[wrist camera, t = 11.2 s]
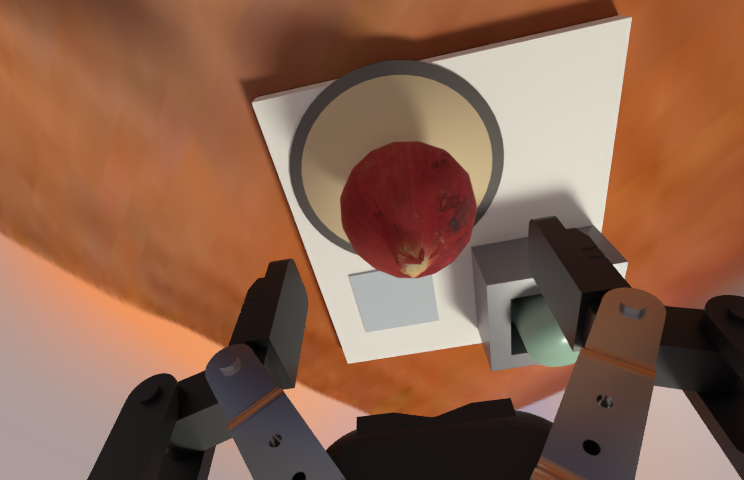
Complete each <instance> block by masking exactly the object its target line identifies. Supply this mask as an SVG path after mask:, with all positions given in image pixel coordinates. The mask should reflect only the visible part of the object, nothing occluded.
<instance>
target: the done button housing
mask: <svg viewBox="0 0 744 480" xmlns="http://www.w3.org/2000/svg"><path fill="white" fill-rule="evenodd" d="M576 229H578V230H580V231H581V232H583V233H585V234H587V235H588V236H590V238H591V239H592V240H593V241H594V243H595V244H596V245H597V246H598V249H600V250H601V251H602V252H603V253H604V255H605V257H607V258H608V260H609V261H610V262H611V263H612V264H613V266H614V267H615V268H616V269H617V270H618V272H619V273H620V274H621V275H622V276H623V278H624V279H625V275H626V270H627V265H628V261H627V260H626V259H625V258H624V257H623V256H622V255H621V254H620V253H619V252H618V251H617V249H616V248H615V247H614V246H613V245H612V244H611V243H610V242H609V241H608V240H607V239H606V238H605V237H604V236H603V234H602V233H601V232H600V231H599V230H598V229H597V228H596V227H595V226H594V225H591V226H585V227H580V228H576ZM527 253H528V237H524V238H518V239H513V240H507V241H501V242H496V243H490V244H485V245H479V246H474V247H471V254H472V266H473V278H474V291H475V303H476V315H477V328H478V331H479V334H480V338H481V341H482V344H483V347H484V350H485V353H486V356H487V359H488V362H489V365H490V368H491V371H496V370H503V369H510V368H516V367H523V366H530V365H536V364H538V363H536V362H535V361H533V360H532V359H531V358H530V356H529V354H528V352H527V350H526V347H525V345H524V343H523V341H522V338H521V336H520V334H519V332H518V329H517V327H516V325H515V323H514V320H513V318H512V315H511V306H512V304H513V301H514V300H515V298H519V297H525V296H531V295H537V294H542V293H541V292H540V290H539V288H538V286H537V284H536V282H535V280H534V279H533V277H532V275H531V272H530V269H529V266H528V259H527Z"/></svg>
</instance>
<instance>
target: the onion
mask: <svg viewBox="0 0 744 480" xmlns="http://www.w3.org/2000/svg"><path fill="white" fill-rule="evenodd" d="M340 207H341V222H342V226H343V230H344V232H345V234H346V236H347V237H348V239H349V241H350V243H351V245H352V247H353V249H354V250H355V252H356V253H357V255H359V256H360V257H361V258H362V259H363V260H365V261H366V262H367V263H368V264H369V265H371V266H372V267H373V268H375V269H376V270H379V271H381V272H384V273H386V274H389V275H392V276H394V277H397V278H421V277H424V276H428V275H432V274H435V273H437V272H438V271H440V270H442V269H443V268H445V267H446V266H448V265H449V264H451V263H453V262H454V261H455V260H456V258H457V257H458V256H459V254H460V253H461V252H462V251H463V249H464V248H465V247H466V246H467V244H468V243H469V241H470V239H471V234H472V229H473V225H474V221H475V216H476V212H477V205H476V199H475V195H474V192H473V188H472V184H471V180H470V176H469V174H468V173H467V172H466V170H465V169H464V168H463V167H462V166H461V165H460V164H459V163H458V162H457V161H456V160H455V159H454V158H453V157H452V156H451V155H450V153H448V152H447V151H445V150H444V149H441V148H438V147H435V146H432V145H429V144H426V143H423V142H420V141H413V142H392V143H390V144H387V145H385V146H382V147H380V148H377V149H375V150H372V151H370V152H369V153H368V154H367V155H366V156H365V157H364V158H363V159H362V160H361V161H360V162H359V163H358V164H357V165H356V166H355V167H354V168H353V169H352V171H351V173H350V175H349V177H348V180H347V182H346V184H345V186H344V188H343V191H342V194H341V197H340Z"/></svg>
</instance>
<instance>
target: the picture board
mask: <svg viewBox="0 0 744 480" xmlns="http://www.w3.org/2000/svg"><path fill="white" fill-rule="evenodd" d="M631 20H632V17H628V16H621V15H618V16H613V17H609V18H604V19H600V20H596V21H591V22H587V23H582V24H578V25H574V26H569V27H565V28H560V29H556V30H551V31H547V32H543V33H538V34H534V35H529V36H525V37H521V38H516V39H512V40H507V41H503V42H498V43H494V44H490V45H485V46H481V47H476V48H472V49H468V50H463V51H459V52H454V53H450V54H445V55H441V56H437V57H432V58H428V59H423V60H419V61H413V60H389V61H383V62H376V63H373V64H369V65H366V66H363V67H360V68H358V69H355V70H353V71H351V72H349V73H347V74H345V75H343V76H342V77H340V78H339V79H335V80H331V81H326V82H322V83H317V84H313V85H308V86H304V87H300V88H295V89H291V90H286V91H282V92H278V93H273V94H269V95H264V96H260V97H256V98H255V99H254V101H253V102H252V105H253V108H254V111H255V113H256V116H257V119H258V122H259V124H260V127H261V130H262V132H263V135H264V138H265V140H266V143H267V146H268V149H269V151H270V154H271V157H272V159H273V162H274V165H275V168H276V170H277V173H278V176H279V178H280V181H281V184H282V186H283V189H284V192H285V195H286V197H287V200H288V203H289V205H290V208H291V211H292V213H293V216H294V219H295V222H296V224H297V227H298V230H299V232H300V235H301V238H302V241H303V243H304V246H305V249H306V251H307V254H308V257H309V259H310V262H311V265H312V268H313V270H314V273H315V276H316V278H317V281H318V284H319V287H320V289H321V292H322V295H323V297H324V300H325V303H326V305H327V308H328V311H329V314H330V316H331V319H332V322H333V324H334V327H335V330H336V332H337V335H338V338H339V341H340V343H341V346H342V349H343V351H344V354H345V357H346V360H347V362H348V364H349V363H355V362H362V361H368V360H375V359H381V358H388V357H394V356H400V355H407V354H413V353H420V352H426V351H432V350H439V349H445V348H452V347H458V346H464V345H471V344H477V343H482V341H481V338H480V334H479V331H478V328H477V315H476V303H475V291H474V278H473V266H472V254H471V247H474V246H479V245H485V244H490V243H496V242H501V241H507V240H513V239H518V238H524V237H528V229H529V221H530V220H531V219H535V218H541V217H548V216H556V217H557V218H558V219H559V220H560V222H561V223H562V224H563V226H564V227H565V228H566V229H570V228H580V227H585V226H591V225H594V226H595V227H596V228H597V229H598V230H599V231H600V232H602V224H603V217H604V210H605V203H606V196H607V189H608V182H609V175H610V168H611V161H612V154H613V147H614V140H615V133H616V126H617V119H618V112H619V105H620V98H621V91H622V83H623V76H624V69H625V62H626V55H627V48H628V41H629V34H630V27H631ZM413 141H420V142H423V143H426V144H429V145H432V146H435V147H438V148H441V149H444V150H445V151H447V152H448V153H450V155H451V156H452V157H453V158H454V159H455V160H456V161H457V162H458V163H459V164H460V165H461V166H462V167H463V168H464V169H465V170H466V172H467V173H468V174H469V176H470V180H471V184H472V188H473V192H474V195H475V199H476V205H477V212H476V216H475V221H474V225H473V229H472V234H471V239H470V241H469V243H468V244H467V246H466V247H465V248H464V249H463V251H462V252H461V253H460V254H459V256H458V257H457V258H456V260H455V261H454V262H453V263H451V264H449V265H448V266H446V267H445V268H443V269H442V270H440V271H438V272H437V273H435V274H432V275H428V276H424V277H421V278H397V277H394V276H392V275H389V274H386V273H384V272H381V271H379V270H376V269H375V268H373V267H372V266H371V265H369V264H368V263H367V262H366V261H365V260H363V259H362V258H361V257H360V256H359V255H357V253H356V252H355V250H354V249H353V247H352V245H351V243H350V241H349V239H348V237H347V236H346V234H345V232H344V230H343V226H342V222H341V207H340V197H341V194H342V191H343V188H344V186H345V184H346V182H347V180H348V177H349V175H350V173H351V171H352V169H353V168H354V167H355V166H356V165H357V164H358V163H359V162H360V161H361V160H362V159H363V158H364V157H365V156H366V155H367V154H368V153H369V152H370V151H372V150H375V149H377V148H380V147H382V146H385V145H387V144H390V143H392V142H413Z"/></svg>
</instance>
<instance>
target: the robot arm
mask: <svg viewBox="0 0 744 480" xmlns="http://www.w3.org/2000/svg"><path fill="white" fill-rule="evenodd" d="M527 259H528V266H529V269H530V272H531V275H532V277H533V279H534V280H535V282H536V284H537V286H538V288H539V290H540V292H541V293H542V295H543V297H544V299H545V301H546V303H547V305H548V306H549V308H550V310H551V312H552V314H553V316H554V318H555V320H556V321H557V323H558V325H559V327H560V329H561V331H562V333H563V334H564V336H565V338H566V340H567V342H568V344H569V346H570V347H571V349H572V351H573V352H577V351H580V352H579V355H578V358H577V360H576V363H575V366H574V368H573V371H572V374H571V376H570V379H569V382H568V384H567V387H566V390H565V393H564V395H563V398H562V401H561V403H560V406H559V409H558V411H557V414H556V417H555V419H554V422H553V423H552V422H550V421H548V420H546V419H544V418H542V417H539V416H536V415H533V414H531V413H527V412H522V411H516V410H514V407H513V404H512V401H511V398H507V399H499V400H491V401H483V402H475V403H470V404H468V405H465V406H462V407H460V408H457V409H455V410H452V411H450V412H447V413H444V414H442V415H439V416H436V417H424V416H416V415H408V414H401V413H386V414H378V415H370V416H362V417H357V429H356V430H354V431H352V432H350V433H348V434H346V435H345V436H342V437H341V438H340V439H338V440H337V441H335V442H334V443H333V444H332V445H331V446H330V447H329V448H328V449H327V450H326V451H325V449H324V448H323V446H322V445H321V444H320V442H319V441H318V440H317V438H316V436H315V435H314V434H313V432H312V431H311V429H310V428H309V427H308V425H307V424H306V422H305V421H304V420H303V418H302V417H301V415H300V414H299V412H298V411H297V410H296V408H295V407H294V405H293V404H292V403H291V401H290V400H289V398H288V397H287V396H286V394H285V393H284V391H283V389H290V388H295V383H296V377H297V371H298V365H299V359H300V352H301V346H302V340H303V334H304V328H305V322H306V316H307V310H308V298H307V293H306V290H305V287H304V285H303V282H302V280H301V277H300V274H299V272H298V269H297V267H296V264H295V262H294V260H293V259H285V260H279V261H273V262H270V263H269V266H268V269H267V272H266V275H265V277H264V278H258V279H257V280H256V281H255V282H254V284H253V285H252V286H251V287H250V288H249V290H248V292H247V295H246V298H245V301H244V302H245V303H243V306H242V309H241V313H240V315H239V317H238V320H237V323H236V326H235V329H234V331H233V334H232V337H231V340H230V343H229V345H228V347H225V348H223V349H222V350H220V351H219V352H218V353H216V354H215V355H214V356H213V357H212V358H211V360H210V361H209V363H208V364H207V367H206V370H205V371H203V372H201V373H198V374H196V375H194V376H191V377H189V378H186V379H184V380H182V381H179V382H177V380H176V379H175V378H174V377H173V376H172V375H170V374H166V373H163V374H157V375H154V376H152V377H150V378H148V379H146V380H144V381H143V382H141V383H140V384H139V385H138V386H137V387H136V388H135V389H134V390H133V391H132V392H131V393H130V395H129V396H128V398H127V400H126V402H125V404H124V406H123V408H122V410H121V412H120V414H119V416H118V418H117V420H116V422H115V424H114V426H113V428H112V430H111V432H110V434H109V436H108V439H107V441H106V442H105V444H104V446H103V449H102V451H101V453H100V455H99V457H98V459H97V461H96V463H95V465H94V467H93V469H92V471H91V473H90V475H89V477H88V479H87V480H207V479H208V475H209V471H210V467H211V463H212V459H213V455H214V451H215V447H216V445H217V444H219V443H222V442H224V441H226V440H228V439H231V438H233V439H234V441H235V443H236V445H237V447H238V449H239V451H240V453H241V455H242V457H243V459H244V461H245V463H246V465H247V467H248V469H249V471H250V473H251V475H252V477H253V479H254V480H635V475H636V470H637V465H638V460H639V455H640V450H641V445H642V440H643V436H644V431H645V426H646V421H647V416H648V411H649V406H650V401H651V396H652V392H653V386H661V387H667V388H675V389H681V390H683V392H684V393H685V395H686V396H687V398H688V399H689V400H690V402H691V404H692V405H693V407H694V408H695V410H696V411H697V413H698V414H699V415H700V417H701V419H702V420H703V422H704V423H705V424H706V426H707V428H708V429H709V431H710V432H711V434H712V435H713V437H714V438H715V440H716V441H717V443H718V444H719V445H720V447H721V449H722V450H723V452H724V453H725V454H726V456H727V458H728V459H729V460H730V462H731V464H732V465H733V466H734V468H735V470H736V471H737V473H738V474H739V476H740V477H741V479H742V480H744V297H741V296H735V295H721V296H716V297H713V298H711V299H710V300H709V301H708V302H707V303H706V305H705V307H704V310H702V309H690V308H679V307H670V306H664V305H663V303H662V302H661V301H660V300H659V299H658V298H656V297H655V296H653V295H652V294H650V293H648V292H645V291H643V290H639V289H635V288H632V287H631V286H630V285H629V284H628V283H627V281H626V280H625V279H624V278H623V276H622V275H621V274H620V273H619V272H618V270H617V269H616V268H615V267H614V266H613V264H612V263H611V262H610V261H609V260H608V258H607V257H605V255H604V253H603V252H602V251H601V250H600V249H598V246H597V245H596V244H595V243H594V241H593V240H592V239H591V238H590V236H588V235H587V234H585V233H583V232H581V231H580V230H578V229H576V228H570V229H566V228H565V227H564V226H563V224H562V223H561V222H560V220H559V219H558V218H557V217H556V216H548V217H541V218H535V219H531V220H530V221H529V229H528V253H527Z"/></svg>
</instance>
